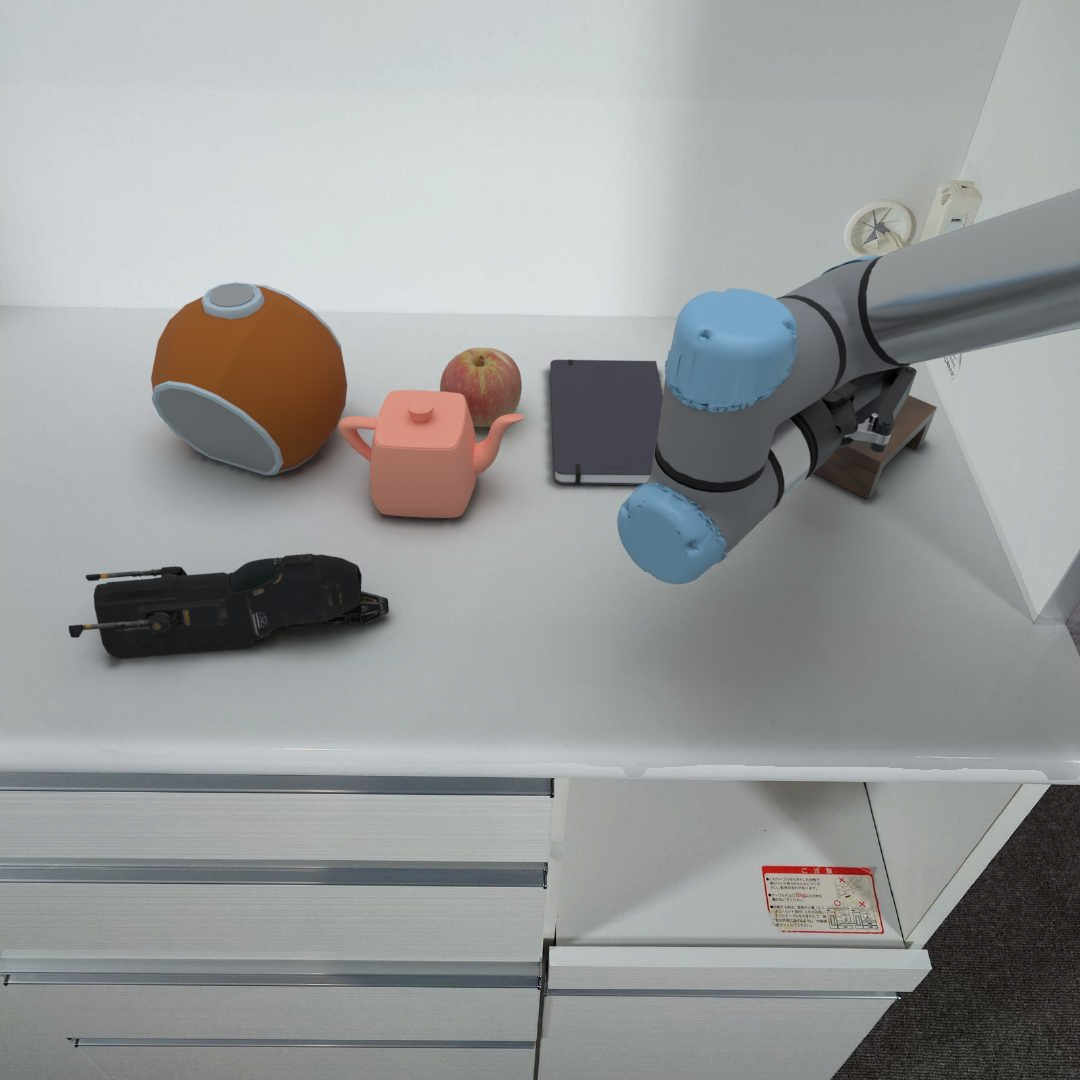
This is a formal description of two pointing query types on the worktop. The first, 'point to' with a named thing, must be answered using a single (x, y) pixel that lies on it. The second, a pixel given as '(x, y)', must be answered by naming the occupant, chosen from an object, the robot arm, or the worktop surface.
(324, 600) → the black toy vehicle
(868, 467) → the wooden stand
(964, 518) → the worktop surface
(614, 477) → the notebook
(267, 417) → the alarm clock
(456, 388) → the apple
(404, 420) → the teapot
